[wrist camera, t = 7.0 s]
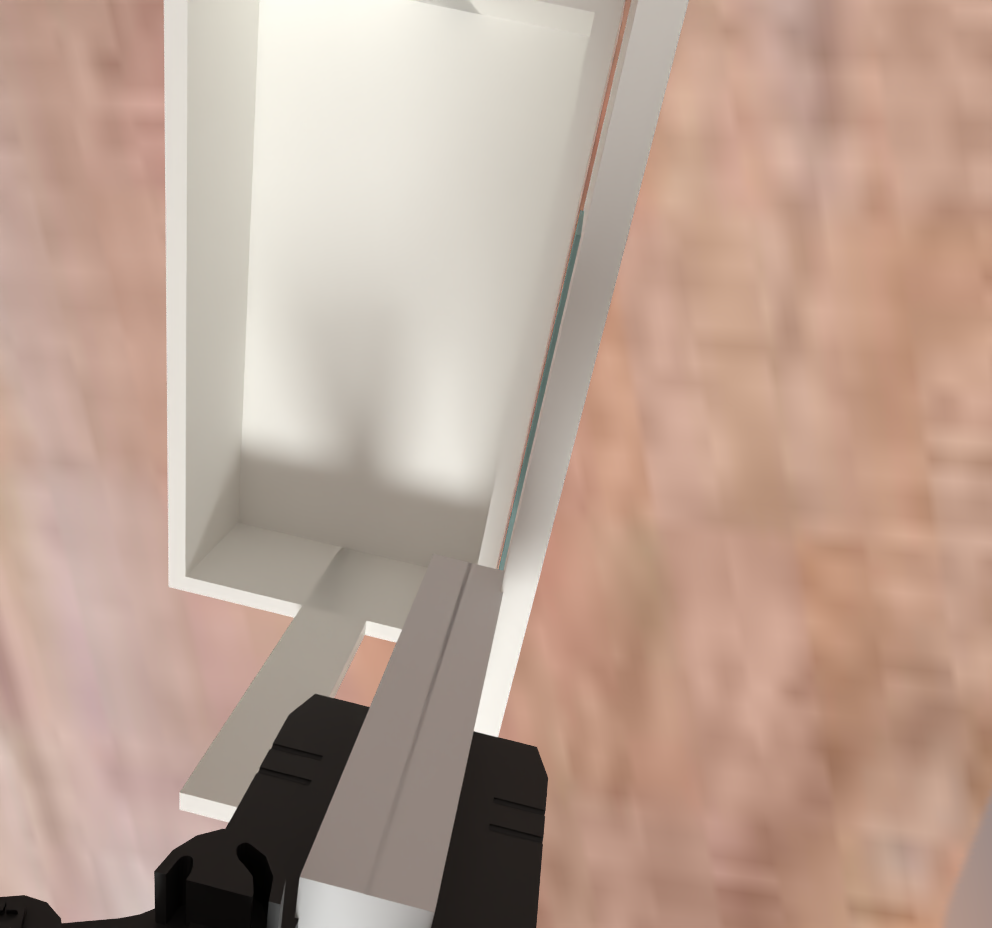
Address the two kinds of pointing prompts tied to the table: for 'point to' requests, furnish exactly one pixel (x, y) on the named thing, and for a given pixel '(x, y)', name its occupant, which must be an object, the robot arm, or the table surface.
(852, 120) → the table surface
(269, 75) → the box
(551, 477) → the lid
